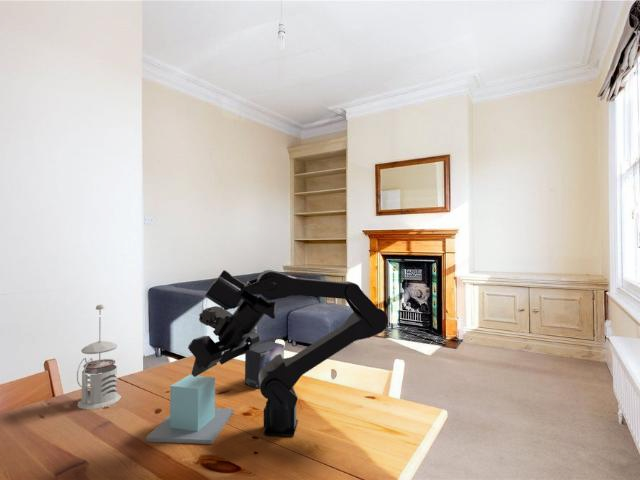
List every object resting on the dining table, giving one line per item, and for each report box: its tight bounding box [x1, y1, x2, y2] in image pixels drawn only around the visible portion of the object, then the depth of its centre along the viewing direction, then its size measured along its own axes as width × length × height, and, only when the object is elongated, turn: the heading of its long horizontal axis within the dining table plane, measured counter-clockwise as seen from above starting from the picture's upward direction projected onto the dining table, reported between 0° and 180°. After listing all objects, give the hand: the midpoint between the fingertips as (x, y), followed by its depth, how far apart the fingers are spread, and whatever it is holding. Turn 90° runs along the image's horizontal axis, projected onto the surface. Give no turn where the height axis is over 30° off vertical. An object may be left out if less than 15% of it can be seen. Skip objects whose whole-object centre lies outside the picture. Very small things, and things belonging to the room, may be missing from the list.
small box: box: [244, 340, 285, 390], centre depth 107 cm, size 11×6×10 cm, turn 143°
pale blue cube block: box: [169, 374, 216, 431], centre depth 81 cm, size 7×7×9 cm
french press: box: [76, 304, 122, 410], centre depth 93 cm, size 10×12×25 cm
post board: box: [145, 407, 235, 445], centre depth 81 cm, size 14×14×4 cm
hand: (207, 368), depth 82 cm, fingers open, 9 cm apart
